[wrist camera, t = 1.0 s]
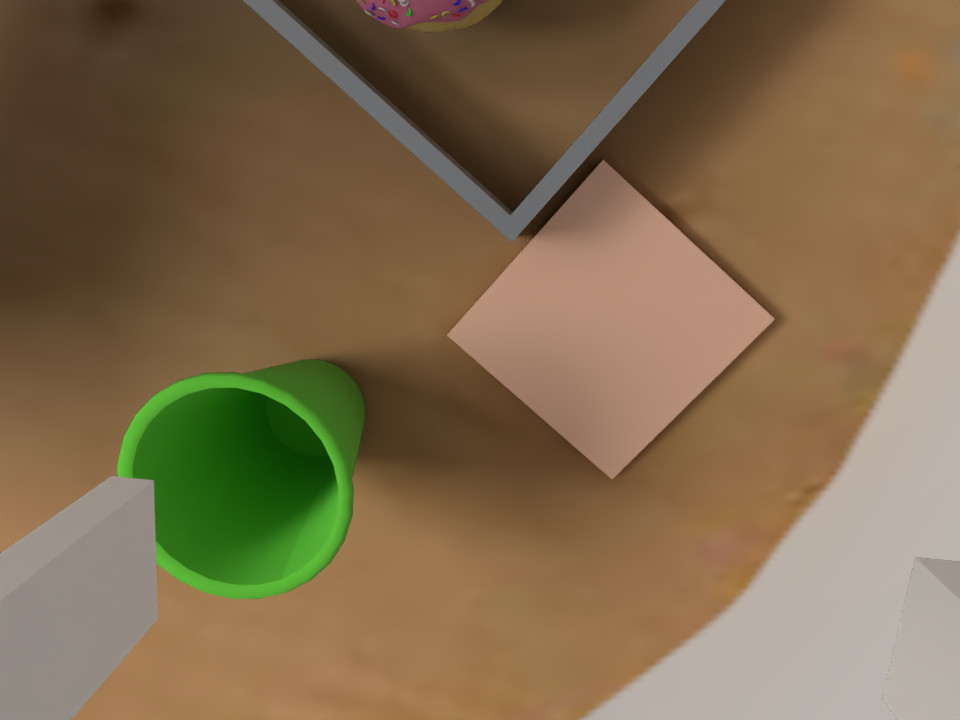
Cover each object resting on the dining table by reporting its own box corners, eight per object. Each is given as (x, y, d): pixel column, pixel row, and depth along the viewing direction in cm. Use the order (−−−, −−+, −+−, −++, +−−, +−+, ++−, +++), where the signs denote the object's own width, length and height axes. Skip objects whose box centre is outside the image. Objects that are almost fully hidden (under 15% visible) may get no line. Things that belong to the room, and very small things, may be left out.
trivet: (448, 332, 37) (447, 335, 36) (602, 160, 34) (603, 159, 34) (610, 475, 38) (611, 479, 37) (771, 316, 35) (774, 319, 35)
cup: (358, 292, 37) (285, 336, 26) (432, 454, 38) (391, 557, 28) (202, 359, 38) (71, 426, 27) (279, 512, 40) (184, 631, 29)
